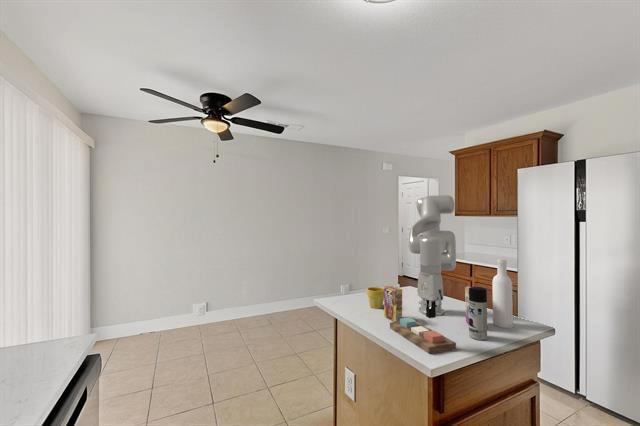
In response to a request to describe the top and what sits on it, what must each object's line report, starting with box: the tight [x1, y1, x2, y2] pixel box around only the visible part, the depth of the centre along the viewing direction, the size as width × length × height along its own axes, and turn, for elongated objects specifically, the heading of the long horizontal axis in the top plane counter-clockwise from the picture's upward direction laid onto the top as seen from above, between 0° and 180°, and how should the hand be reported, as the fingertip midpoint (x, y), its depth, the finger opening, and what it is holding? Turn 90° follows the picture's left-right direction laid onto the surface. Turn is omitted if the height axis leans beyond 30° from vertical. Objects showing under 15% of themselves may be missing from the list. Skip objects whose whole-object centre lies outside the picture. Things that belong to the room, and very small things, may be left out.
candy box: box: [383, 285, 403, 322], centre depth 141 cm, size 9×4×15 cm, turn 26°
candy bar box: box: [464, 286, 470, 326], centre depth 132 cm, size 11×5×16 cm, turn 163°
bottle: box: [491, 258, 514, 329], centre depth 133 cm, size 8×8×30 cm
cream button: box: [411, 326, 429, 336], centre depth 118 cm, size 5×5×3 cm
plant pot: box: [366, 286, 384, 309], centre depth 160 cm, size 10×10×10 cm
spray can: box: [468, 286, 488, 341], centre depth 119 cm, size 7×7×20 cm
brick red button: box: [424, 330, 444, 344], centre depth 111 cm, size 5×5×3 cm
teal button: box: [400, 317, 418, 328], centre depth 126 cm, size 5×5×3 cm
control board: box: [389, 321, 457, 355], centre depth 118 cm, size 26×12×2 cm, turn 18°
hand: (430, 317), depth 112 cm, fingers closed
